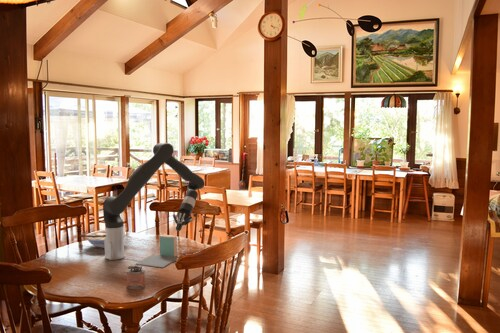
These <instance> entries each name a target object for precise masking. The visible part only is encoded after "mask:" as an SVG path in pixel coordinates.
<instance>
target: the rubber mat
mask: <svg viewBox="0 0 500 333" xmlns="http://www.w3.org/2000/svg"><path fill="white" fill-rule="evenodd" d="M177 258H179V257H177V256H175V257H170V256H163V255H160V254H154V253H153V254H151V255H149V256H147V257H146V258H144V259H142V260H139V261H138V262H136V263H135V265H138V266H142V267H143V266H144V267H153V268H160V269H164V268H166V267H167V266H169V265H170V264H172V263H174V262H176V261H177V260H178V259H177ZM176 259H177V260H176Z"/></svg>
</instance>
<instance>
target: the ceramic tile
mask: <svg viewBox="0 0 500 333" xmlns="http://www.w3.org/2000/svg"><path fill="white" fill-rule="evenodd" d="M177 239H178V236H177V235H170V234H161V235H159V255H163V256H170V257H177V256H178V240H177Z"/></svg>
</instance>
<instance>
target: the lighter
mask: <svg viewBox="0 0 500 333" xmlns="http://www.w3.org/2000/svg"><path fill="white" fill-rule="evenodd" d="M125 273H126V289H128V290H129V289H130V290H131V289H132V290H134V289H135V290H137V289H139V290H140V289H145V288H146V283H145V273H146V270H145V269H143V265H136V264H135V265H128V266H127V270H126V271H125Z"/></svg>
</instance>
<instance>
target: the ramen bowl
mask: <svg viewBox="0 0 500 333" xmlns="http://www.w3.org/2000/svg"><path fill="white" fill-rule="evenodd" d="M126 235H127V232H126V231H125V230H124V238H125V236H126ZM78 237H79V238H86V239H87V242H89V243H90V244H91V245H93V246H95V247H98V248H101V249H105V246H104V241H106V229H101V230H100V229H99V230H96V231H92V232H89V233H87V234H80V235H78Z"/></svg>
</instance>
